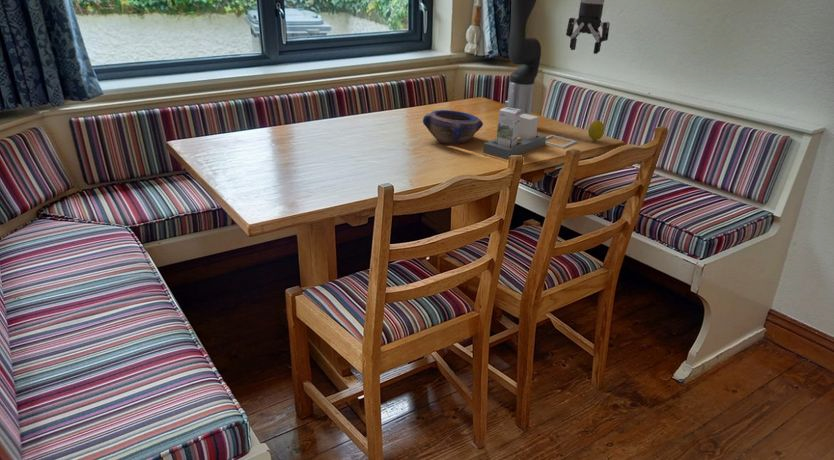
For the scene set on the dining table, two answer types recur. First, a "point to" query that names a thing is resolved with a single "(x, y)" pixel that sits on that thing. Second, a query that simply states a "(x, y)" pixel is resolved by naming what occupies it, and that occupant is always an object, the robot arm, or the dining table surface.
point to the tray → (562, 139)
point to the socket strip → (516, 150)
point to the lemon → (596, 130)
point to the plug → (527, 127)
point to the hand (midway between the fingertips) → (584, 51)
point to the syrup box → (508, 127)
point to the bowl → (452, 126)
